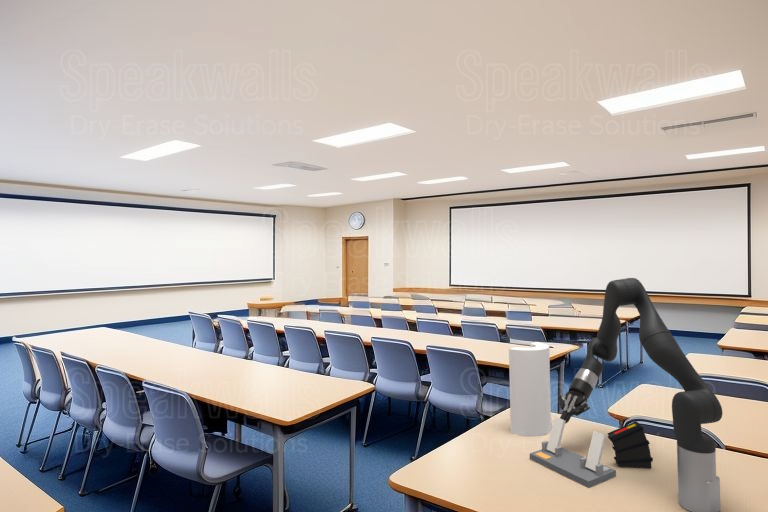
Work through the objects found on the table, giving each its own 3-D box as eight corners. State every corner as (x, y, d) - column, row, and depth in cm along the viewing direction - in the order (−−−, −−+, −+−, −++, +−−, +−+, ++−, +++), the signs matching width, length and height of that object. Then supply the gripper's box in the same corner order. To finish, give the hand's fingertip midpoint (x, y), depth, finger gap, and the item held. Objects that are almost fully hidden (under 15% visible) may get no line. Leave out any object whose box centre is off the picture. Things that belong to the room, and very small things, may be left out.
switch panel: (616, 476, 148) (615, 461, 148) (588, 487, 141) (588, 471, 141) (555, 450, 169) (555, 436, 169) (529, 458, 162) (529, 445, 162)
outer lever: (557, 453, 160) (565, 420, 163) (555, 453, 160) (563, 419, 162) (548, 449, 164) (556, 417, 166) (546, 449, 163) (554, 416, 166)
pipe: (509, 432, 187) (536, 420, 200) (533, 440, 178) (560, 427, 191) (507, 348, 187) (535, 341, 200) (531, 352, 178) (558, 345, 191)
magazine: (662, 464, 152) (641, 424, 153) (625, 479, 153) (605, 439, 154) (657, 459, 156) (636, 420, 157) (621, 474, 157) (601, 435, 158)
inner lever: (598, 472, 146) (606, 435, 149) (595, 471, 146) (604, 434, 148) (587, 467, 150) (595, 431, 152) (585, 466, 149) (593, 430, 152)
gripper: (564, 373, 176) (543, 410, 170) (594, 381, 164) (573, 421, 158) (573, 385, 178) (553, 422, 172) (604, 393, 167) (583, 433, 161)
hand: (563, 421), depth 165 cm, fingers closed
